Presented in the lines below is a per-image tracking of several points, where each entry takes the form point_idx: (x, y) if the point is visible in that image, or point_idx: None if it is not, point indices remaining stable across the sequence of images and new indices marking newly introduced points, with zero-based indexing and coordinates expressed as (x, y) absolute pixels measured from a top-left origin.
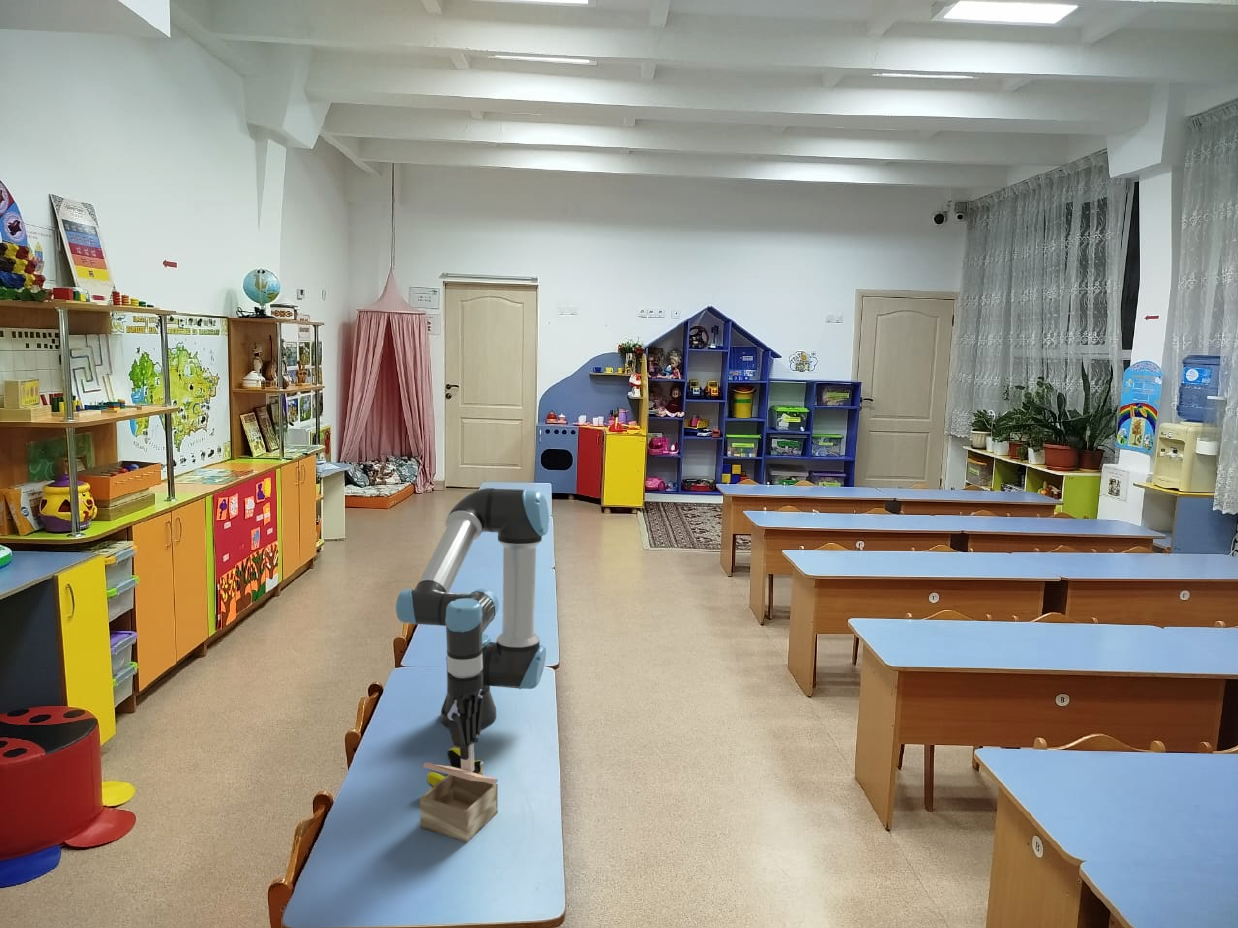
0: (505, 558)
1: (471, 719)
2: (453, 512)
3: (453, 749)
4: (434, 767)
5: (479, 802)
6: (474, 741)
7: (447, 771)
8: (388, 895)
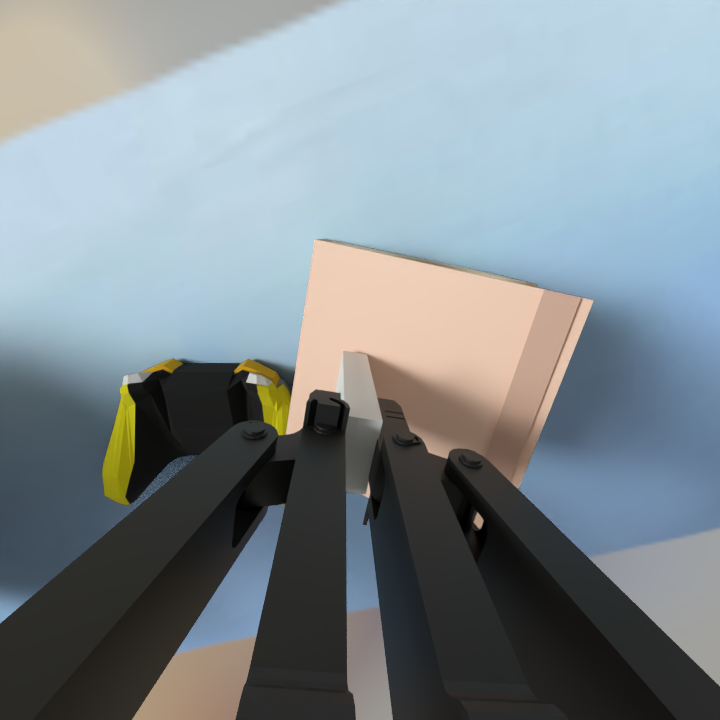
0: None
1: (342, 605)
2: None
3: (121, 492)
4: None
5: (450, 266)
6: (347, 415)
7: (535, 442)
8: (716, 375)
